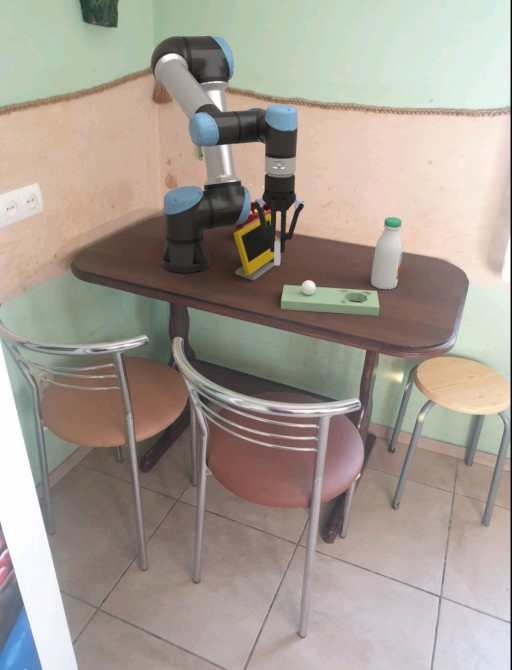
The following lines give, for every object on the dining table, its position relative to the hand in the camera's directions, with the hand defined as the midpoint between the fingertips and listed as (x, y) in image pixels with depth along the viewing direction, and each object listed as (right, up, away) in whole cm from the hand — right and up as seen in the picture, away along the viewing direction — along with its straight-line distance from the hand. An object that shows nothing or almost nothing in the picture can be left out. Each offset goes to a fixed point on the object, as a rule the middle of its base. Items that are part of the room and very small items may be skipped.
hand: (277, 263), depth 145 cm
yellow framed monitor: (-6, +1, +23) cm, 24 cm away
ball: (+9, -6, +3) cm, 11 cm away
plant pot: (-7, +14, +46) cm, 48 cm away
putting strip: (+15, -11, +5) cm, 19 cm away
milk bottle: (+32, -4, +16) cm, 36 cm away
